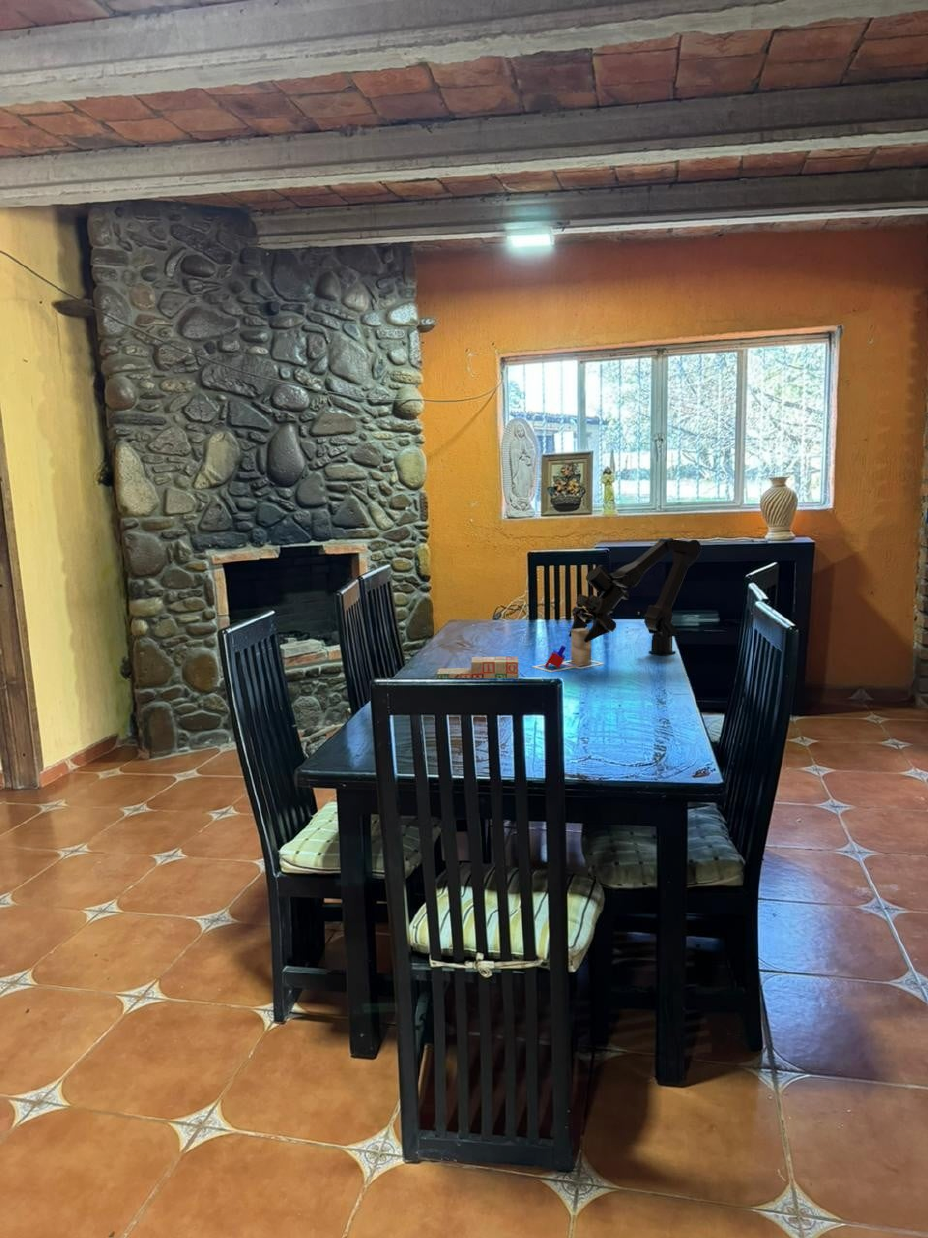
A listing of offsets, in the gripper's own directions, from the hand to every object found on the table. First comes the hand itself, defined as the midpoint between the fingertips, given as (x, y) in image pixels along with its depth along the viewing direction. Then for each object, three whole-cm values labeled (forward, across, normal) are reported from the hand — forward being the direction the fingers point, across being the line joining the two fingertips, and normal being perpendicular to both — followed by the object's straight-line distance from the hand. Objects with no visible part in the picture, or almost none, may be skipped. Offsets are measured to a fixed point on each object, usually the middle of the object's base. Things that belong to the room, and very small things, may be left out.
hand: (577, 639), depth 254 cm
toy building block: (+11, 0, 0) cm, 11 cm away
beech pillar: (+5, 0, +7) cm, 8 cm away
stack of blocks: (+38, +27, -26) cm, 53 cm away
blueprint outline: (+8, 0, +3) cm, 9 cm away
